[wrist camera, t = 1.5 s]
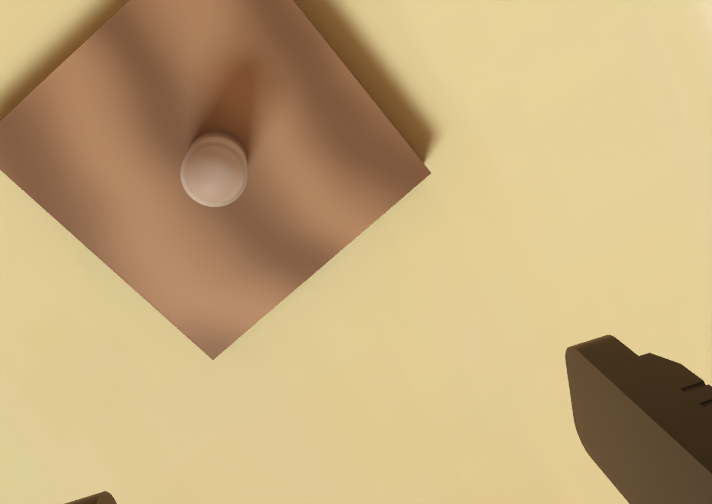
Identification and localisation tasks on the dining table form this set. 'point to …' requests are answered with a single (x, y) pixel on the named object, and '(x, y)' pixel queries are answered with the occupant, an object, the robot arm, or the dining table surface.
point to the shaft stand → (208, 156)
